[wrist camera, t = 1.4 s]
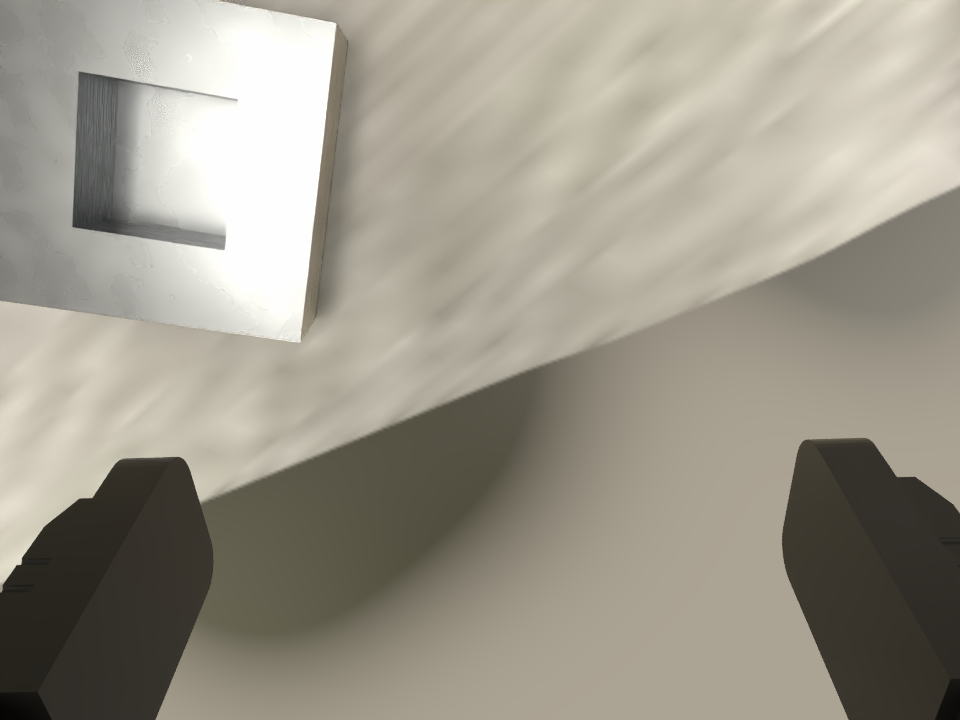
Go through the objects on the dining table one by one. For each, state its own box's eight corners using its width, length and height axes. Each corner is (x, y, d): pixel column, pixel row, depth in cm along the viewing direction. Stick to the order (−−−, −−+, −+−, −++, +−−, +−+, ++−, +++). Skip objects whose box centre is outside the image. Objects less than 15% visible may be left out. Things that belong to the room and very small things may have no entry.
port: (41, 277, 35) (-19, 297, 30) (50, -15, 32) (-15, -43, 27) (315, 317, 36) (300, 342, 31) (348, 41, 33) (336, 22, 29)
